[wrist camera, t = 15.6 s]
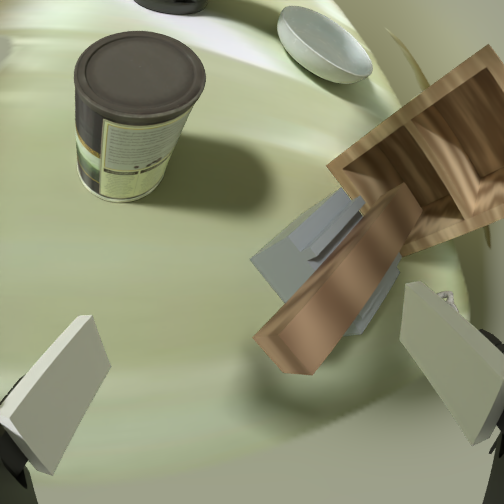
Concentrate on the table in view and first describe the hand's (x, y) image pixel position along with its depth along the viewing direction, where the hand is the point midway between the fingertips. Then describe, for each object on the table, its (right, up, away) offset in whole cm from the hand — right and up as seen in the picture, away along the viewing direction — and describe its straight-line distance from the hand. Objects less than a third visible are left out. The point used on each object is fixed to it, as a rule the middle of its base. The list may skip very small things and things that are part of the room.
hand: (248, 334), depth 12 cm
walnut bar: (+9, +2, +18) cm, 20 cm away
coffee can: (-14, +13, +19) cm, 27 cm away
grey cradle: (+7, +1, +26) cm, 27 cm away
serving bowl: (+12, +42, +42) cm, 60 cm away
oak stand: (+21, +13, +37) cm, 44 cm away
